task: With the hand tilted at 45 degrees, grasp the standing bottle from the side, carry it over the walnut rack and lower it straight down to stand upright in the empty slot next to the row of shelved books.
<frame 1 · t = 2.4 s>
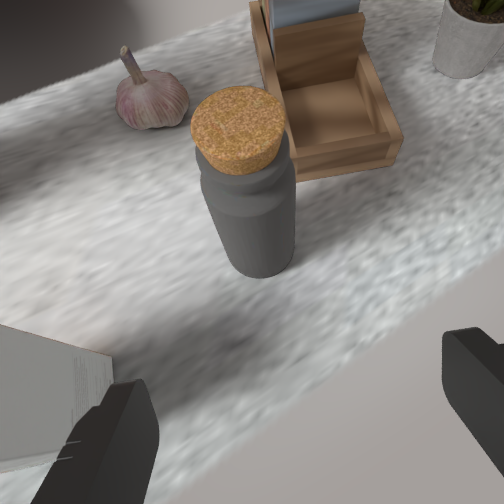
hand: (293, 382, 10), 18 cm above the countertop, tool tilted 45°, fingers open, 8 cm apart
rack: (313, 91, 38), on the countertop
small box: (67, 410, 27), on the countertop
house plant: (468, 68, 37), on the countertop
bottle: (260, 248, 31), on the countertop
garlic bulb: (158, 117, 39), on the countertop
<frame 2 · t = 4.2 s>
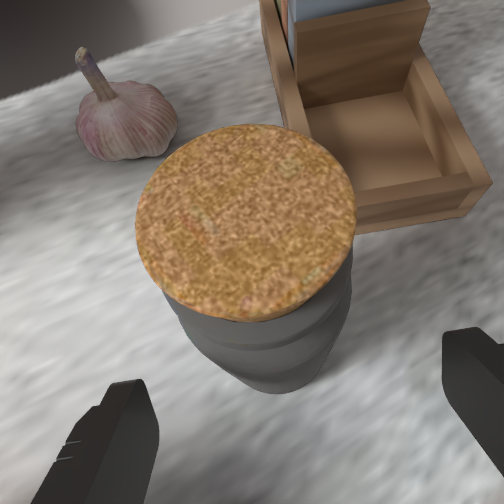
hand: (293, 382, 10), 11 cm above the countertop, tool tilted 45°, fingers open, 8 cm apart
rack: (345, 108, 28), on the countertop
bottle: (275, 342, 21), on the countertop
garlic bulb: (137, 143, 29), on the countertop
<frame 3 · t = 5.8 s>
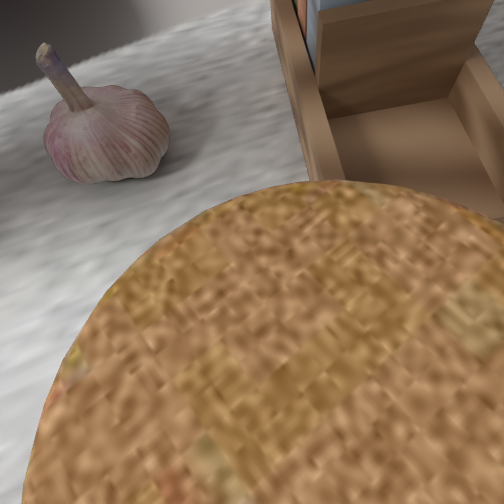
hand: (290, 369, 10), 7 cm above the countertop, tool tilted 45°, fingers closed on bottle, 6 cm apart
rack: (375, 118, 23), on the countertop
bottle: (293, 429, 16), on the countertop, touching gripper
garlic bulb: (123, 159, 24), on the countertop
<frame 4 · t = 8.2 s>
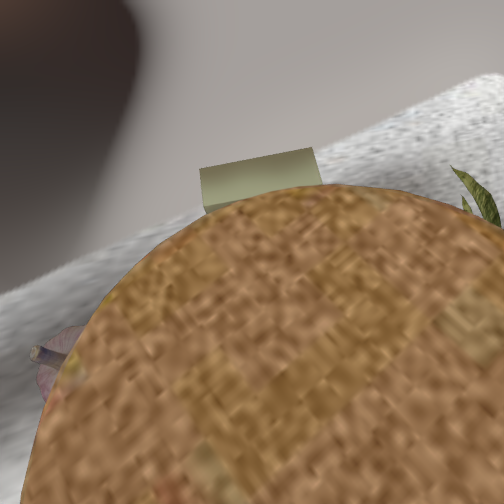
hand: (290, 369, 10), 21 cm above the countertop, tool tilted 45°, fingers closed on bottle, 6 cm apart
rack: (286, 341, 31), on the countertop
house plant: (478, 317, 30), on the countertop
bottle: (293, 430, 16), point 13 cm above the countertop, touching gripper
garlic bulb: (97, 366, 32), on the countertop
when the fingers open (9 cm above the countertop, at t = 11.0 s): bottle stays where it is, resting on rack.
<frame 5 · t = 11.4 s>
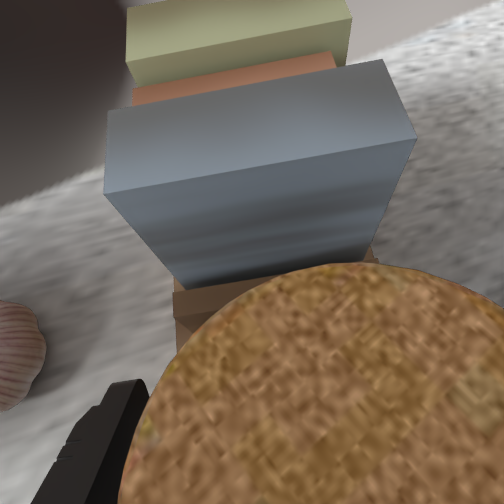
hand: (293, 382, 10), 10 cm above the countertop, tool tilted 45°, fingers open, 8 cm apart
rack: (281, 329, 20), on the countertop
bottle: (300, 432, 17), point 1 cm above the countertop, touching rack
garlic bulb: (0, 363, 21), on the countertop
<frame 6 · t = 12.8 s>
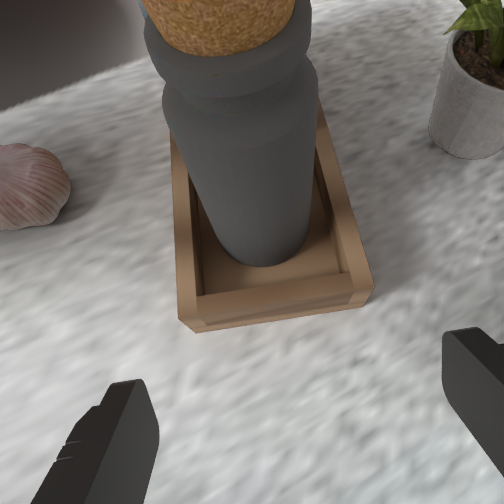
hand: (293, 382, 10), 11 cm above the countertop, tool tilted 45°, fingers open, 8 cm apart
rack: (253, 172, 26), on the countertop
house plant: (482, 142, 25), on the countertop
bottle: (262, 227, 23), point 1 cm above the countertop, touching rack
garlic bulb: (33, 205, 27), on the countertop
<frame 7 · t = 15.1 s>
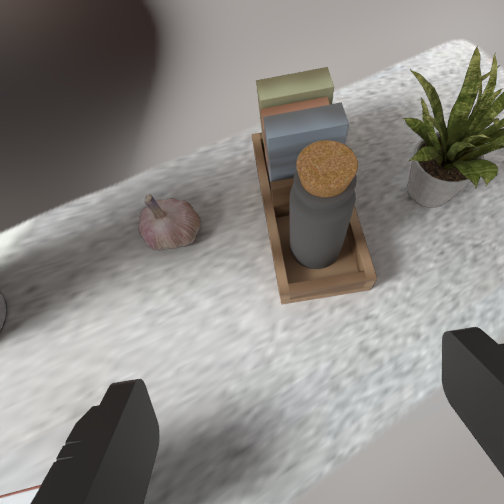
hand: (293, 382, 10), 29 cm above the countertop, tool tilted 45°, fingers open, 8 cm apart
rack: (305, 213, 44), on the countertop
house plant: (438, 196, 44), on the countertop
bottle: (315, 247, 41), point 1 cm above the countertop, touching rack
garlic bulb: (174, 232, 46), on the countertop
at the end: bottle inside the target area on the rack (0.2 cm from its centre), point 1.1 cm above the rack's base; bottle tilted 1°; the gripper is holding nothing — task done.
